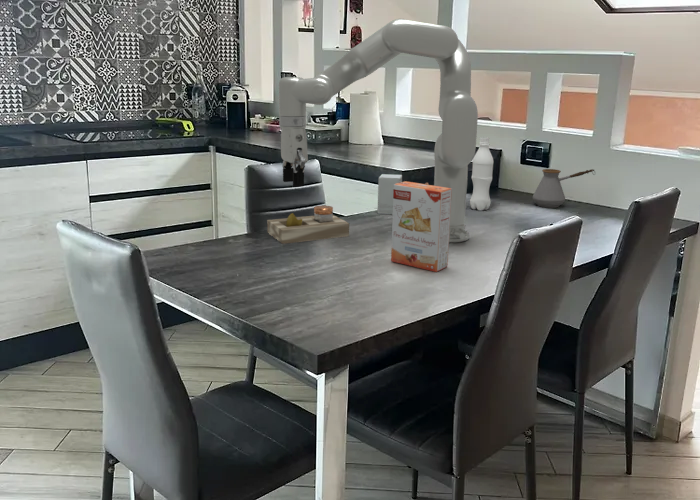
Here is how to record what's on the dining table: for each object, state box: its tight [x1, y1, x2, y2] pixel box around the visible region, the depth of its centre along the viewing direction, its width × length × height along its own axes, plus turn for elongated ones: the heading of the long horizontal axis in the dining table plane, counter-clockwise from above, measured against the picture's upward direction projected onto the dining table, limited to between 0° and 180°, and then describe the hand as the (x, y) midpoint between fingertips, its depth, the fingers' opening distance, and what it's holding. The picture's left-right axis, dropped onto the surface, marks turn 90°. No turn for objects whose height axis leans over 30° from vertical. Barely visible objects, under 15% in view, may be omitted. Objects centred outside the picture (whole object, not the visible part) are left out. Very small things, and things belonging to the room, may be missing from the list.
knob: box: [286, 213, 302, 227], centre depth 200 cm, size 5×5×5 cm
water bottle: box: [469, 136, 495, 211], centre depth 237 cm, size 7×7×25 cm
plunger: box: [313, 204, 334, 223], centre depth 204 cm, size 6×6×4 cm
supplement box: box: [376, 173, 403, 216], centre depth 232 cm, size 7×7×13 cm
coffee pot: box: [532, 168, 596, 209], centre depth 242 cm, size 21×12×15 cm, turn 51°
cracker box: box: [390, 181, 452, 273], centre depth 173 cm, size 14×6×21 cm, turn 53°
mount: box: [266, 214, 350, 245], centre depth 203 cm, size 13×21×4 cm, turn 116°
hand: (293, 183), depth 197 cm, fingers open, 7 cm apart
